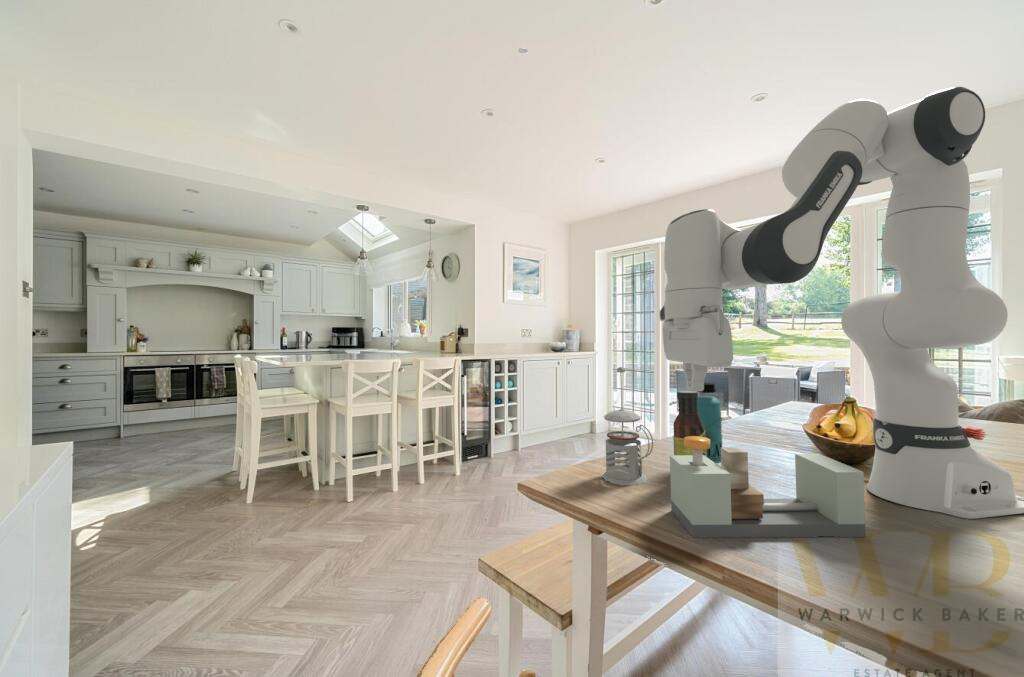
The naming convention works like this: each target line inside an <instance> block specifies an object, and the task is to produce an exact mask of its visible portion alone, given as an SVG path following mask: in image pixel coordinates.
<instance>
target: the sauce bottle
mask: <svg viewBox="0 0 1024 677" xmlns="http://www.w3.org/2000/svg"><path fill="white" fill-rule="evenodd" d="M698 394H699V392H697V391H693V390H679V391H677V392H676V396H677V397H676V398H677V403H678V408H677V410H678V415H677V416H676V418H675V419H674V421H673V437H672V438H673V456H674V455H692V449H691V448H688V447H685V446H684V438H685V437H688V436H699V437H705V428H704V426H703V423H702V420H701V418H700V415H699V413H698V407H697V399H698V397H699V395H698ZM705 438H706V437H705ZM703 455H704V456H706V449H703Z"/></svg>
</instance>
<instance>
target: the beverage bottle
mask: <svg viewBox="0 0 1024 677" xmlns="http://www.w3.org/2000/svg"><path fill="white" fill-rule="evenodd" d="M696 392H698V393H705V394H709V393H710V394H712V393H716V385H715V383H713V382H704V390H703V391H696ZM721 403H722V402H721V401H720V400H719V399H718V398H717V397H715V396H710V395H709V396H708V395H701V396H699V395H698V399H697V407H698V413H699V415H700V418H701V420H702V423H703V426H704V428H705V437H706V438H708V439H710V448H709V449H706V457H707V458H709V459H710V460H711V461H713V462H714V463H716V464H721V447H723V434H722V432H723V429H722V424H723V422H722V421H723V418H722V414H723V412H722V411H721V410H722V409H721V407H722V406H721V405H722V404H721Z"/></svg>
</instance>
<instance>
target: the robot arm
mask: <svg viewBox="0 0 1024 677" xmlns="http://www.w3.org/2000/svg"><path fill="white" fill-rule="evenodd" d="M985 122H986V109H985V105H984V102H983V99H981V97H980V95H978V94H977V93H976V92H975V91H973V90H971V89H968V88H967V87H963V86H956V87H949V88H945V89H941V90H939V91H938V90H937V91H935V92H933V93H930V94H928V95H925V97H923V98H922V99H918V100H916V101H914V102H910V103H909V104H906V105H903V106H900V107H898V108H896V109H894V110H892V111H890V112H887V110H886V108H885V107H884V106H883V105H882V104H880V103H879V102H877V101H875V100H871V99H866V98H865V99H864V98H862V99H861V98H859V99H855V100H850V101H847V102H845V103H844V104H841V105H840V106H838V107H836V108H835V109H834V110H833V111H831V112H830V113H829V114H828V115H826V116H825V117H824V118H823V119H821V121H819V122H818V123H817V124H816V125H815V126H813V128H812V129H810V130H809V132H808V133H807V134H806V135H805V136H804V137H803V138H802V140H801V141H799V143H798V144H797V145H796V146H795V147H794V149H793V150H792V151H791V153H790V154H789V155H788V157H787V158H786V161H785V163H784V164H783V166H782V168H781V177H782V182H783V185H784V187H785V188H786V190H787V191H788V192H789V193H790V194H791V195H792V196H793V197H795V198H796V199H795V201H794V202H792V205H790V207H789V208H788V209H787V210H786V211H784V212H782V213H780V214H778V215H775V216H774V217H771V218H767V219H766V220H765V221H762V222H760V223H758V224H756V225H752V226H750V227H747V228H744V229H739V228H736V227H733V226H732V225H730V224H728V223H726V222H724V220H723V219H721V218H720V217H719V216H718V214H717V212H716V211H715V210H714V209H709V208H707V209H706V208H705V209H699V210H694V211H690V212H688V213H684V214H682V215H680V216H679V217H677V218H675V219H674V220H671V222H670V223H669V224H668V225H667V228H666V232H665V240H664V254H663V255H664V257H663V258H664V270H665V274H666V277H667V278H666V279H667V280H666V287H665V288H664V289H665V290H664V298H665V300H664V303H663V305H662V307H661V308H660V310H659V321H660V322H662V340H663V341H662V342H663V351H664V356H665V359H666V360H668V361H671V362H678V363H679V362H680V363H682V371H683V373H684V377H685V379H686V380H685V381H686V389H688V391H696V392H697V391H703V390H704V383H705V379H706V376H707V373H708V367H709V368H718V367H719V368H721V367H727V368H728V367H731V365H732V363H733V361H734V347H733V337H732V336H733V335H732V329H731V323H730V321H729V319H728V318H727V317H726V316H725V313H724V308H723V307H724V306H723V290H733V291H734V290H741V289H749V288H755V287H761V286H766V285H767V286H768V285H781V284H791V283H796V282H798V281H801V280H802V279H804V278H805V277H806V276H808V275H809V274H810V273H811V272H812V270H814V268H815V266H816V265H817V262H818V261H819V258H820V257H821V256H820V255H821V252H822V250H823V246H824V243H825V240H826V238H827V236H828V234H829V232H830V230H831V229H832V227H833V225H834V224H835V222H836V221H837V220H838V218H839V216H840V215H841V213H842V211H843V210H844V208H845V207H846V206H847V204H848V202H849V201H850V199H851V198H852V196H853V194H854V193H855V191H856V190H857V187H858V186H865V185H868V184H871V183H872V182H874V181H880V180H883V179H887V178H889V179H890V181H891V183H892V190H891V193H890V196H889V200H888V204H887V208H886V213H885V220H884V228H883V236H882V245H881V251H880V252H881V253H880V255H881V259H882V261H883V262H884V263H885V264H886V265H887V266H889V267H890V268H892V269H895V270H896V271H897V273H898V274H899V277H900V282H901V289H900V290H899V291H890V292H881V293H875V294H872V295H869V296H866V297H863V298H860V299H857V300H855V301H853V302H851V303H850V304H849V305H847V306H846V307H845V309H844V310H843V312H842V315H841V322H840V323H841V328H842V331H843V333H844V334H845V336H846V337H847V338H849V339H850V340H851V341H852V342H854V344H856V346H857V347H858V348H859V349H860V351H861V353H862V355H863V356H864V358H865V360H866V362H867V365H868V367H869V369H870V373H871V377H872V380H873V387H874V388H873V389H874V401H875V402H874V403H875V404H874V405H875V417H874V418H873V419H872V434H873V435H872V436H873V441H874V445H875V448H874V449H875V450H874V457H873V462H872V463H873V464H872V469H871V473H870V476H869V480H868V483H867V485H866V490H867V491H868V492H870V493H871V494H873V495H875V496H877V497H879V498H881V499H883V500H886V501H889V502H892V503H895V504H899V505H904V506H907V507H911V508H915V509H921V510H926V511H933V512H936V513H937V512H938V513H943V514H947V515H949V516H954V517H958V518H962V519H968V520H969V519H970V520H971V519H982V518H988V517H989V518H991V517H1001V516H1008V515H1017V514H1024V497H1023V496H1020V495H1017V494H1016V491H1015V485H1014V483H1015V482H1014V480H1013V477H1012V475H1011V474H1010V472H1009V471H1008V470H1007V469H1006V468H1004V467H1003V466H1001V465H1000V464H998V463H997V462H995V461H993V460H992V459H990V458H989V457H987V456H986V455H984V454H982V453H981V452H980V451H978V450H977V449H975V448H973V447H972V446H971V443H970V440H969V439H973V440H976V441H983V440H984V438H986V435H987V434H986V431H985V430H984V429H982V428H977V427H976V428H975V427H972V426H967V427H966V428H965V427H963V426H962V425H960V424H959V396H958V394H959V392H958V390H959V389H958V385H957V382H956V381H955V380H954V378H953V377H951V375H950V374H948V373H946V372H945V371H942V370H941V369H940V368H939V367H938V366H937V365H936V364H935V362H934V361H933V359H932V358H931V355H930V353H929V351H928V349H935V350H937V349H938V350H939V349H940V350H942V349H943V350H952V349H959V348H966V347H972V346H979V345H984V344H987V343H990V342H992V341H993V340H995V339H996V338H997V337H998V336H1000V335H1001V333H1002V332H1003V331H1004V329H1005V327H1006V325H1007V322H1008V315H1009V314H1008V308H1007V306H1006V304H1005V301H1004V300H1003V299H1002V297H1001V296H999V294H997V293H996V292H995V291H994V290H992V289H990V288H988V287H986V286H985V285H983V284H982V283H981V282H979V281H978V279H977V278H976V277H975V275H974V273H973V272H972V270H971V267H970V266H969V262H968V258H967V252H966V251H967V235H968V234H967V233H968V223H969V213H970V202H971V186H970V184H971V183H970V177H969V176H970V175H969V171H968V170H969V169H968V165H967V163H966V161H964V159H965V158H966V157H967V156H968V155H969V153H970V152H971V149H972V147H973V146H974V144H975V143H976V141H978V140H977V139H978V138H979V136H980V134H981V132H982V130H983V128H984V124H985Z"/></svg>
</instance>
